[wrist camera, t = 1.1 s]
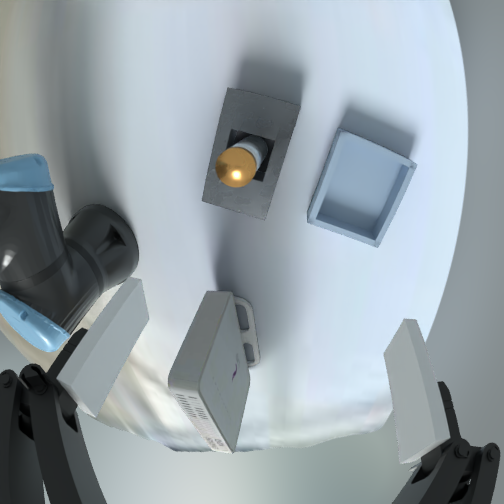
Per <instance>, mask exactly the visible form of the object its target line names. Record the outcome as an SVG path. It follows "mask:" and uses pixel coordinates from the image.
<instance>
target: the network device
mask: <svg viewBox="0 0 504 504" xmlns="http://www.w3.org/2000/svg"><path fill="white" fill-rule="evenodd" d="M235 304H238V305H242V306H244V307H245V308H246V312H247V317H248V323H249V329H247V330H240V326H239V321H238V316H237V311H236V306H235ZM244 343H249V344H251V345H252V347H253V352H254V358H255V360H254V361H247V360H246V355H245V351H244V346H243V344H244ZM259 361H260V354H259V348H258V341H257V334H256V328H255V321H254V314H253V309H252V306H251V304H250V303H249V302H248V301H246V300H245V299H243V298H240V297H235V296H233V293H232V292H230V291H207V292H206V294H205V296H204V298H203V300H202V302H201V304H200V306H199V309H198V311H197V313H196V315H195V317H194V319H193V322H192V324H191V326H190V328H189V330H188V332H187V335H186V337H185V339H184V341H183V343H182V346H181V348H180V350H179V352H178V355H177V357H176V359H175V361H174V363H173V366H172V368H171V370H170V373H169V376H168V387H169V390H170V391H171V393H172V394H173V396H174V397H175V399H176V401H177V402H178V404H179V405H180V407H181V408H182V410H183V411H184V412H185V414H186V415H187V417H188V418H189V420H190V421H191V423H192V424H193V425H194V427H195V428H196V429H197V431H198V432H199V434H200V435H201V436H202V438H203V439H204V440H205V442H206V443H207V444H208V445H209V447H210V448H211V449H212V450H214V451H220V452H225V453H231V454H233V453H234V451H235V448H236V444H237V439H238V435H239V431H240V426H241V422H242V418H243V413H244V409H245V404H246V400H247V395H248V391H249V386H250V374H249V369H248V367H251V366H255V365H257V364H258V363H259Z"/></svg>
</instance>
